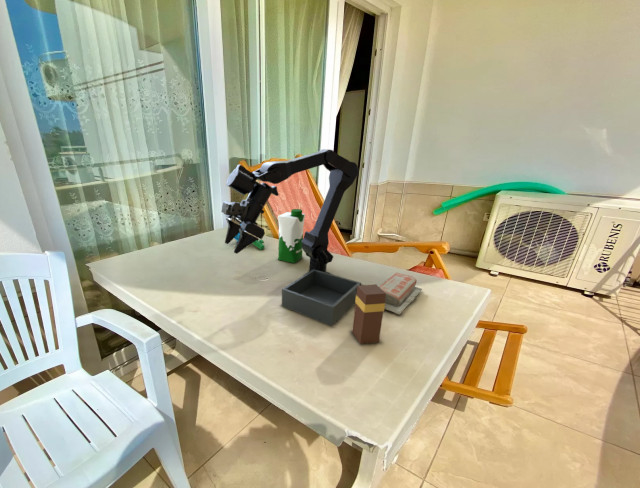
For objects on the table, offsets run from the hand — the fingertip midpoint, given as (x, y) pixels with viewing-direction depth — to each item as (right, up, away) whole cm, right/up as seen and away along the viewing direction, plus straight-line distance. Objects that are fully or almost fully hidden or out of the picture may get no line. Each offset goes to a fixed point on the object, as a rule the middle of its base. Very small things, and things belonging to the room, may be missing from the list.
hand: (230, 248), depth 92 cm
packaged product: (+48, -15, -1) cm, 51 cm away
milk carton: (+23, -4, +30) cm, 38 cm away
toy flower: (+7, +2, +47) cm, 48 cm away
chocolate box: (+33, -22, -19) cm, 44 cm away
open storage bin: (+27, -16, -3) cm, 31 cm away
